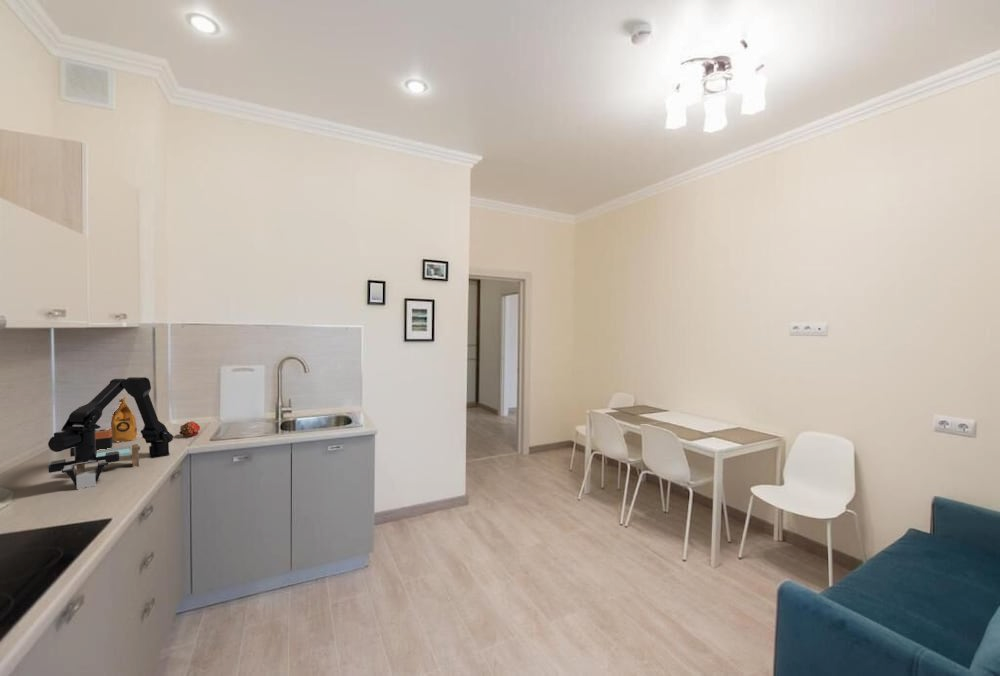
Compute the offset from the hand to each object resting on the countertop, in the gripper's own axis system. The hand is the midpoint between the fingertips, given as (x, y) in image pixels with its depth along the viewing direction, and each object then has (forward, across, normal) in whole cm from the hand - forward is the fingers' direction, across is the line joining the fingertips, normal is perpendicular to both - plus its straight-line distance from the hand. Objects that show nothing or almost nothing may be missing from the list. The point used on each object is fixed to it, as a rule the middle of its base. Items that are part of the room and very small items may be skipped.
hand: (86, 483), depth 156 cm
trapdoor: (-3, -6, -17) cm, 18 cm away
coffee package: (+1, -11, -68) cm, 69 cm away
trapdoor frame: (+1, -6, -16) cm, 18 cm away
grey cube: (+1, 0, 0) cm, 1 cm away
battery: (+1, -3, -54) cm, 54 cm away
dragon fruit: (+1, -37, -54) cm, 65 cm away
